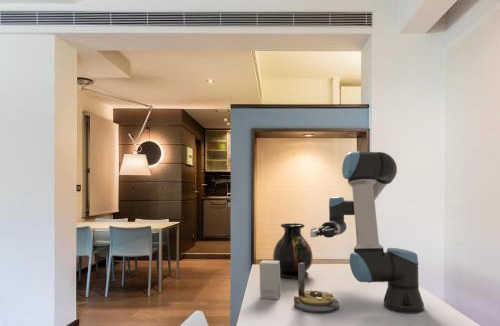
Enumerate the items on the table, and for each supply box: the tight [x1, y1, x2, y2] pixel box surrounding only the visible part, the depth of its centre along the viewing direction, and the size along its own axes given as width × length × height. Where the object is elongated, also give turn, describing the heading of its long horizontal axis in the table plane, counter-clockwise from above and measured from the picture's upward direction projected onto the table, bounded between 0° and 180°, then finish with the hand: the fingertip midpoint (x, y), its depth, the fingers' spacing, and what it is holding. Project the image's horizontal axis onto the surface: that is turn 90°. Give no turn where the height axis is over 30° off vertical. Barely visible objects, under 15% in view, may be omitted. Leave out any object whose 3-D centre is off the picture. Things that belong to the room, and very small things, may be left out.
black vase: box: [272, 222, 313, 280], centre depth 203 cm, size 22×22×28 cm
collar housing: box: [293, 290, 340, 315], centre depth 153 cm, size 18×18×5 cm
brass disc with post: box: [297, 263, 334, 306], centre depth 153 cm, size 14×14×15 cm
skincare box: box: [259, 259, 281, 300], centre depth 165 cm, size 8×7×16 cm
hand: (311, 234), depth 164 cm, fingers closed
